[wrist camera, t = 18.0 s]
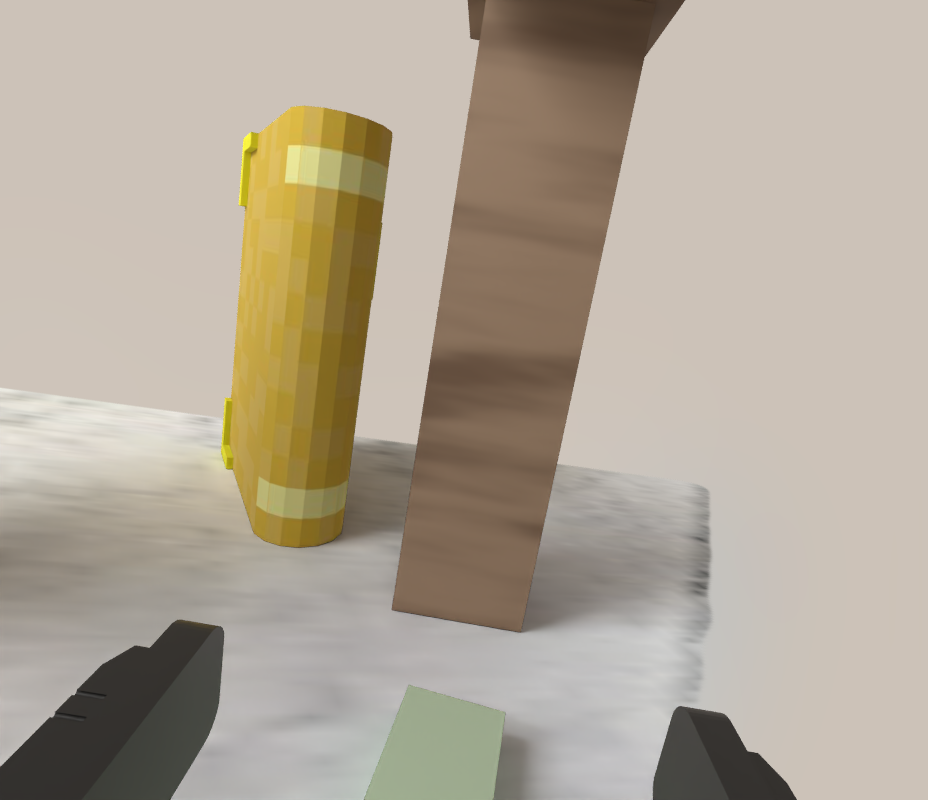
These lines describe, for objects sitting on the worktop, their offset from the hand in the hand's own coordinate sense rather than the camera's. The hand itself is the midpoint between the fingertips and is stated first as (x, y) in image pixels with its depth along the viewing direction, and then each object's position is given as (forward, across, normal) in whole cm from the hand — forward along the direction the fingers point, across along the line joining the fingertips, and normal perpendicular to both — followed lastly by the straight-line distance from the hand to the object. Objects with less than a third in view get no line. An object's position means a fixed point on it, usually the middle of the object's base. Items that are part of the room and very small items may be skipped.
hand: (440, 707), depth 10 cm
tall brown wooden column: (+19, -1, +10) cm, 21 cm away
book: (+30, +13, +11) cm, 35 cm away
